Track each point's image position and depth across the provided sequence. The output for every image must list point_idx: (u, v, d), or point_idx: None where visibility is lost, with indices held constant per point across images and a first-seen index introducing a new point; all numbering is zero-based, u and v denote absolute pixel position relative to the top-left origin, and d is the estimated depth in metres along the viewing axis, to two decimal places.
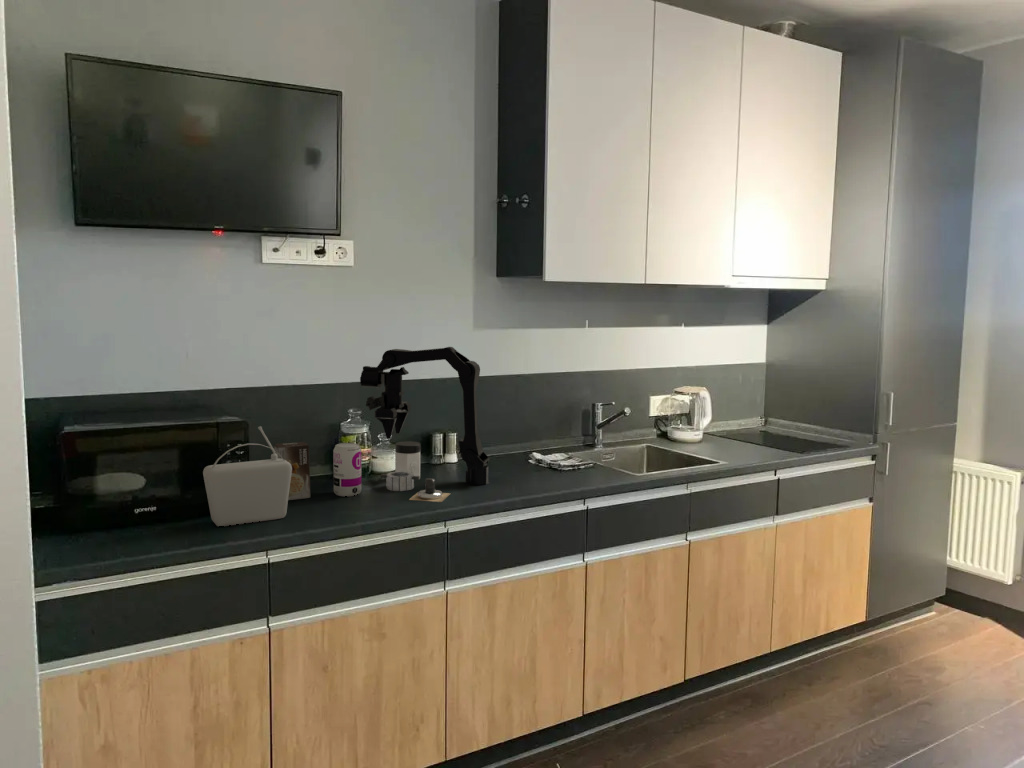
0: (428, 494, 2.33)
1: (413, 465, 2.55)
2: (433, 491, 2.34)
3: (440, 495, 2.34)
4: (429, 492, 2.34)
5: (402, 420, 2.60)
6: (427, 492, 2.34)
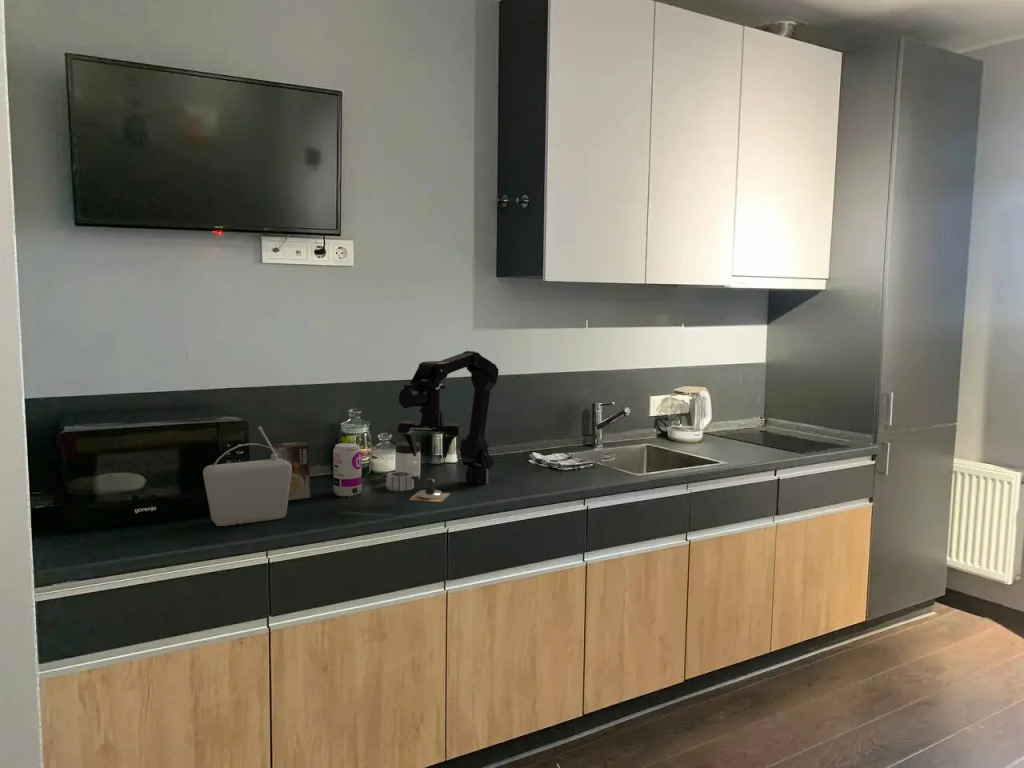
0: (428, 494, 2.33)
1: (412, 465, 2.55)
2: (433, 491, 2.34)
3: (440, 495, 2.34)
4: (429, 492, 2.34)
5: None
6: (427, 492, 2.34)
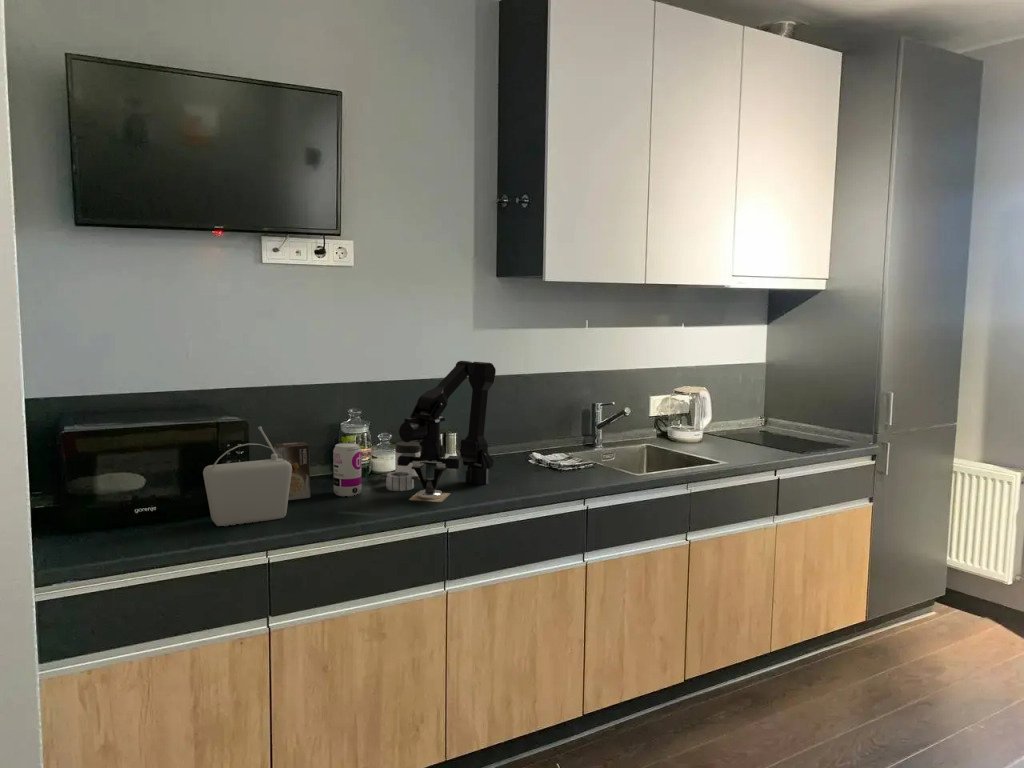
0: (428, 494, 2.33)
1: (412, 465, 2.55)
2: (433, 491, 2.34)
3: (440, 495, 2.34)
4: (429, 492, 2.34)
5: None
6: (427, 492, 2.34)
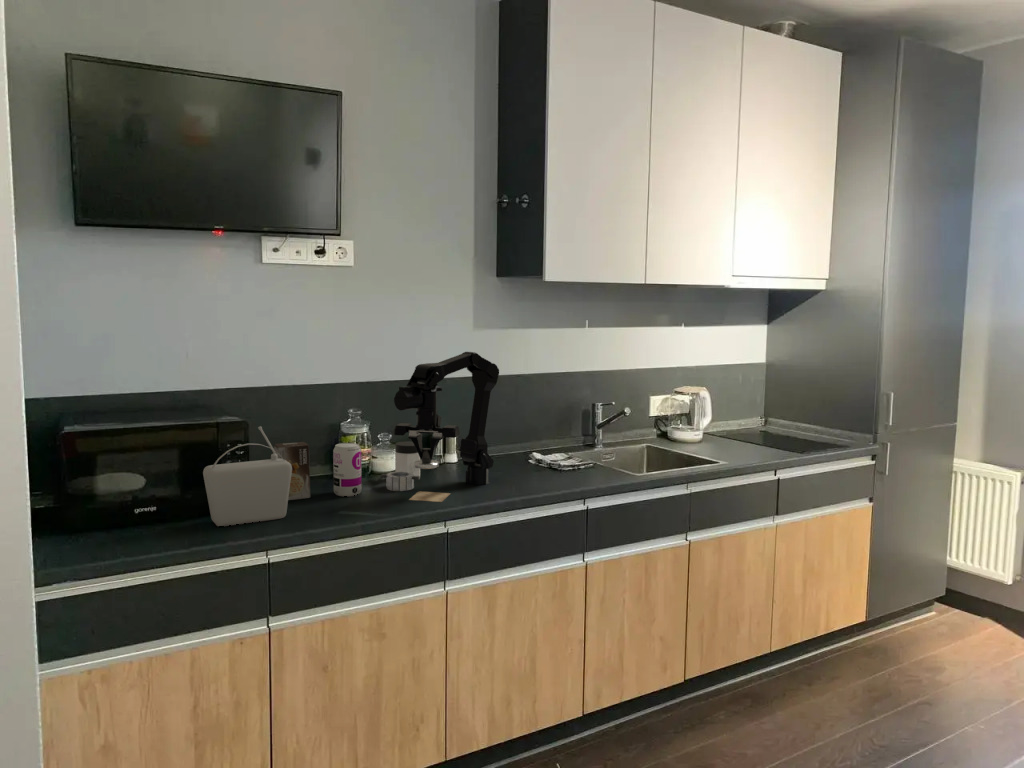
0: (425, 463, 2.33)
1: (412, 465, 2.55)
2: (430, 461, 2.34)
3: (437, 464, 2.34)
4: (426, 462, 2.34)
5: None
6: (424, 462, 2.34)
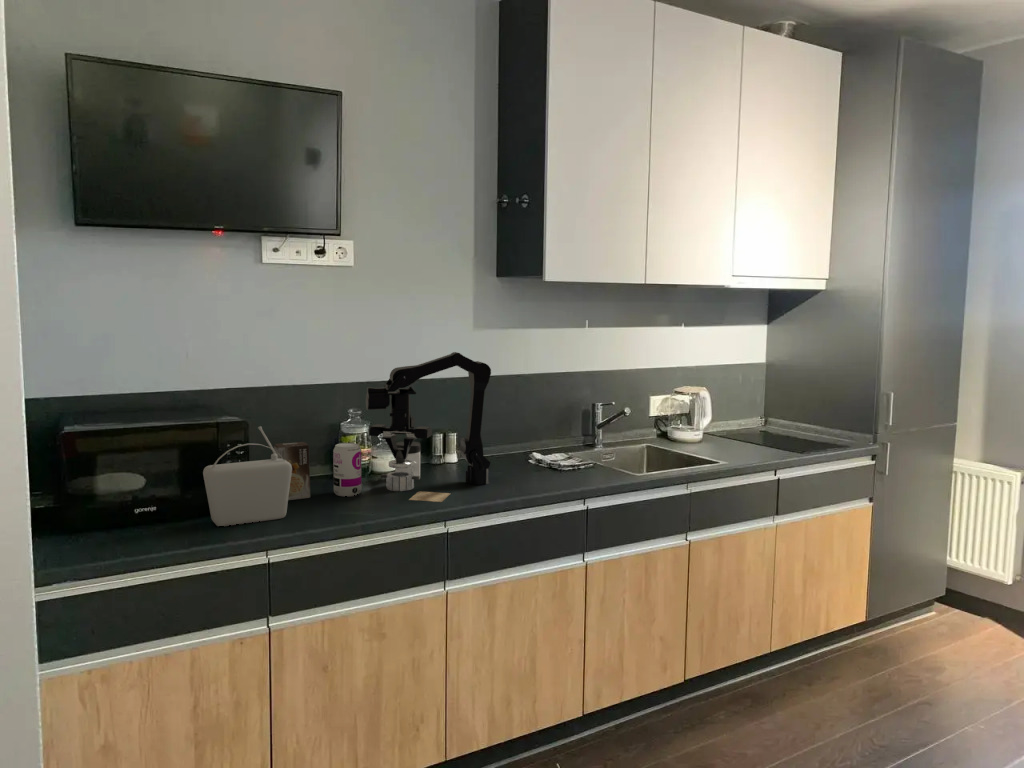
0: (398, 463, 2.42)
1: (412, 465, 2.55)
2: (403, 460, 2.43)
3: (410, 464, 2.43)
4: (399, 461, 2.43)
5: None
6: (397, 461, 2.43)
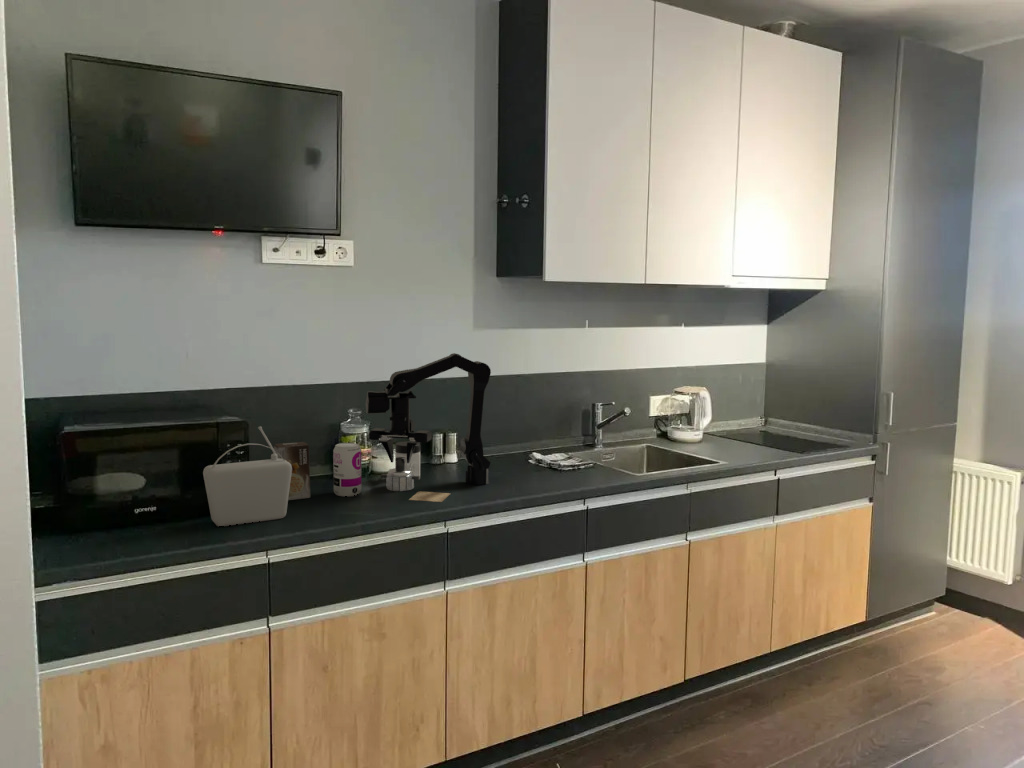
0: (398, 472, 2.42)
1: (412, 465, 2.55)
2: (403, 469, 2.44)
3: (410, 473, 2.43)
4: (399, 470, 2.43)
5: None
6: (397, 470, 2.43)
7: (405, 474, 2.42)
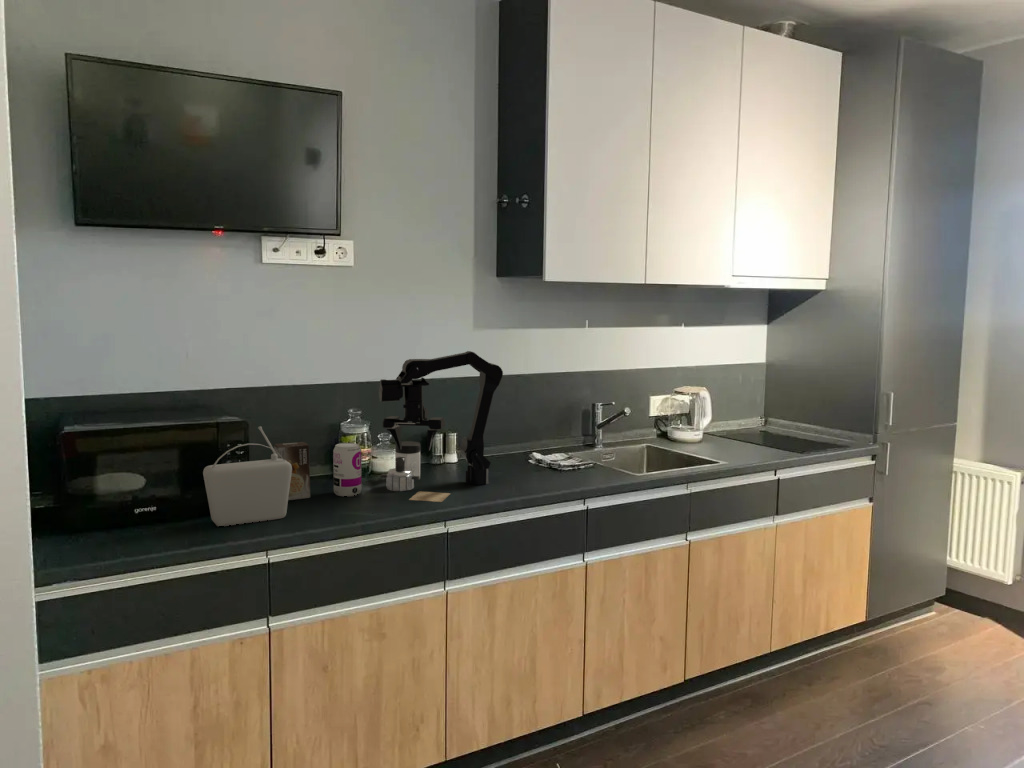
0: (398, 472, 2.42)
1: (413, 465, 2.55)
2: (403, 469, 2.44)
3: (410, 473, 2.43)
4: (399, 470, 2.43)
5: None
6: (397, 470, 2.43)
7: (405, 474, 2.42)
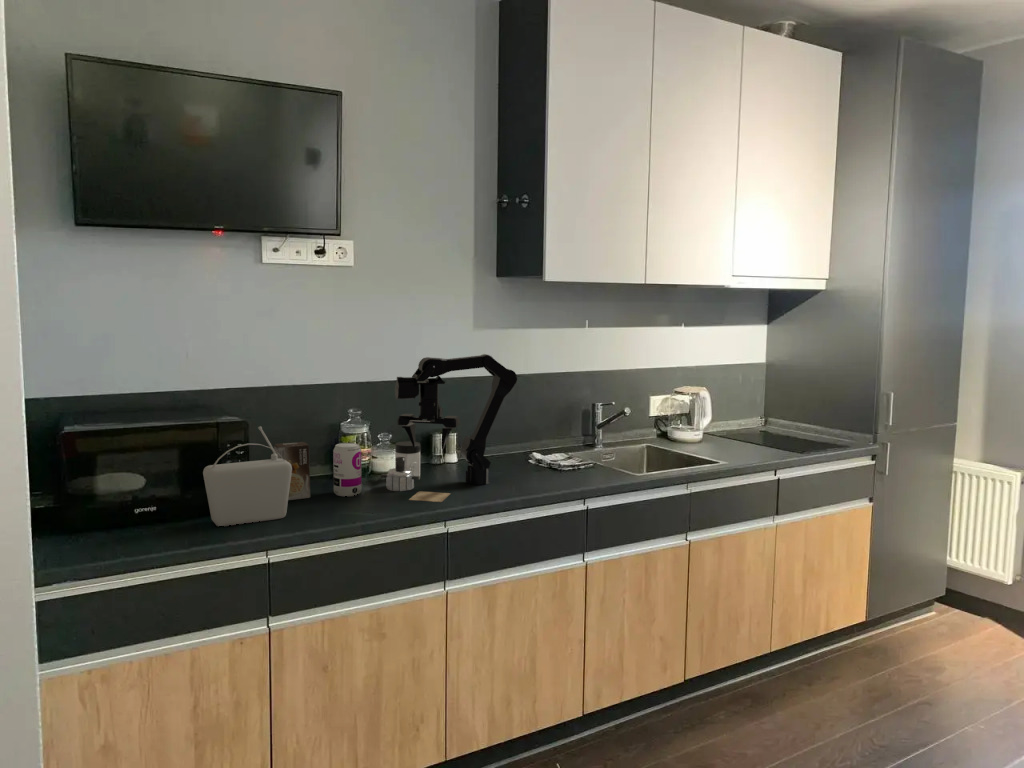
0: (398, 472, 2.42)
1: (412, 465, 2.55)
2: (403, 469, 2.44)
3: (410, 473, 2.43)
4: (399, 470, 2.43)
5: None
6: (397, 470, 2.43)
7: (405, 474, 2.42)
